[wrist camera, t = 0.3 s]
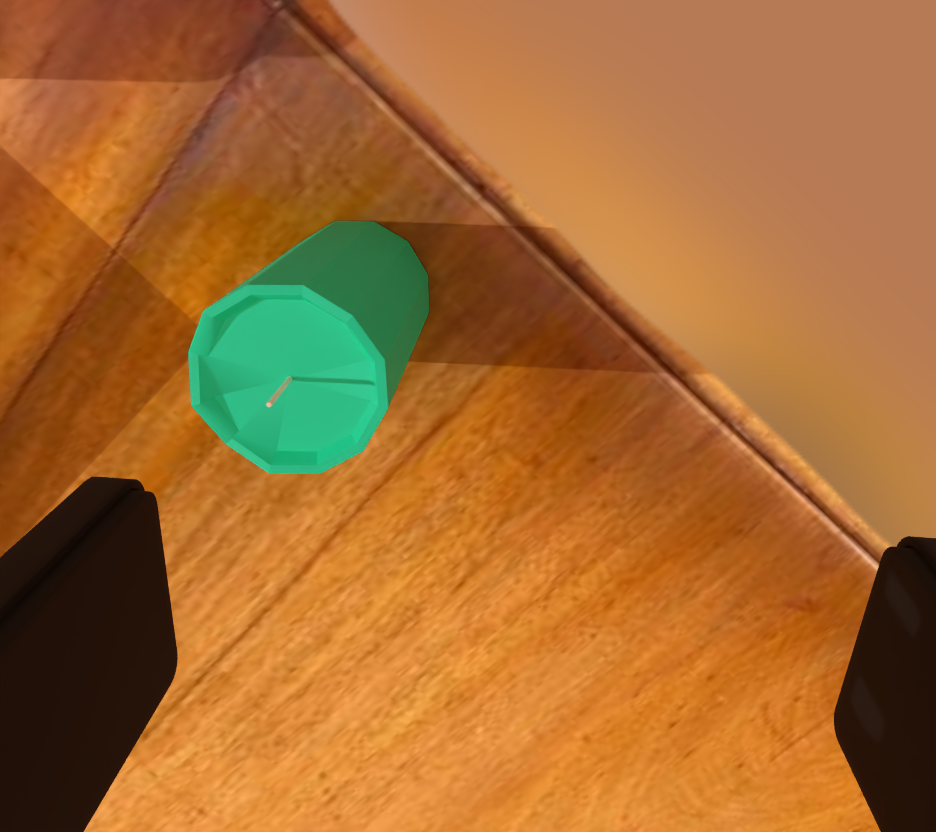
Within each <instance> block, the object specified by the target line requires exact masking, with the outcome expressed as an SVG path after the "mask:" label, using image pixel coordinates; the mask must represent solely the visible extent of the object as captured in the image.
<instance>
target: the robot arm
mask: <svg viewBox="0 0 936 832" xmlns="http://www.w3.org/2000/svg"><path fill="white" fill-rule="evenodd" d="M177 659H178V658H177V647H176V640H175V632H174V625H173V617H172V610H171V602H170V595H169V587H168V580H167V573H166V565H165V558H164V550H163V543H162V535H161V528H160V521H159V513H158V506H157V501H156V497H155V495H154V494H153V493H152V492H148V491H145V490H144V487H143V485H142V484H141V482H139V481H138V480H135V479H121V478H107V477H91V478H89V479H87V480H86V481H85V482H84V483H83V484H81V485H80V486H79V487H78V488H77V489H76V490H75V491H74V492H73V493H71V494H70V495H69V496H68V497H67V498H66V499H65V500H64V501H63V502H61V503H60V504H59V505H58V506H57V507H56V508H55V509H54V510H53V511H51V512H50V513H49V514H48V515H47V516H46V517H45V518H44V519H43V520H41V521H40V522H39V523H38V524H37V525H36V526H35V527H34V528H33V529H31V530H30V531H29V532H28V533H27V534H26V535H25V536H24V537H23V538H21V539H20V540H19V541H18V542H17V543H16V544H15V545H14V546H13V547H11V548H10V549H9V550H8V551H7V552H6V553H5V554H4V555H3V556H1V557H0V832H84V830H85V828H86V827H87V825H88V823H89V822H90V820H91V818H92V817H93V815H94V813H95V811H96V810H97V808H98V806H99V805H100V803H101V801H102V800H103V798H104V796H105V795H106V793H107V791H108V790H109V788H110V786H111V784H112V783H113V781H114V779H115V778H116V776H117V774H118V773H119V771H120V769H121V768H122V766H123V764H124V763H125V761H126V759H127V757H128V756H129V754H130V752H131V751H132V749H133V747H134V746H135V744H136V742H137V741H138V739H139V737H140V736H141V734H142V732H143V730H144V729H145V727H146V725H147V724H148V722H149V720H150V719H151V717H152V715H153V714H154V712H155V710H156V708H157V707H158V705H159V703H160V702H161V700H162V698H163V697H164V695H165V693H166V692H167V690H168V688H169V687H170V685H171V683H172V681H173V678H174V675H175V672H176V667H177ZM834 727H835V733H836V737H837V740H838V742H839V744H840V747H841V749H842V751H843V753H844V755H845V757H846V759H847V761H848V763H849V766H850V768H851V770H852V772H853V774H854V776H855V778H856V780H857V782H858V784H859V787H860V789H861V791H862V793H863V795H864V797H865V799H866V801H867V803H868V806H869V808H870V810H871V812H872V814H873V816H874V818H875V820H876V822H877V825H878V827H879V829H880V831H881V832H936V538H923V537H910V536H908V537H905V538H903V539H902V540H901V541H900V542H899V543H898V545H897V547H889V548H887V549H886V550H885V552H884V553H883V556H882V558H881V561H880V564H879V568H878V571H877V574H876V577H875V581H874V584H873V587H872V590H871V594H870V597H869V600H868V603H867V607H866V610H865V613H864V616H863V620H862V623H861V626H860V630H859V633H858V636H857V639H856V643H855V646H854V649H853V652H852V656H851V659H850V662H849V665H848V669H847V672H846V675H845V678H844V682H843V685H842V688H841V692H840V695H839V698H838V701H837V705H836V708H835V713H834Z"/></svg>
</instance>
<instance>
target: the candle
mask: <svg viewBox="0 0 936 832" xmlns="http://www.w3.org/2000/svg"><path fill="white" fill-rule="evenodd" d="M428 314H429V283H428V274H427V272H426V270H425V269H424V267H423V265H422V264H421V262H420V260H419V259H418V257H417V255H416V254H415V252H414V250H413V249H412V247H411V245H410V244H409V242H408V241H407V240H405V239H403V238H401V237H400V236H398V235H396V234H395V233H393V232H391V231H390V230H388V229H386V228H385V227H383V226H381V225H379V224H378V223H376V222H374V221H334V222H332V223H331V224H329V225H327V226H326V227H324V228H323V229H321V230H319V231H318V232H316V233H314V234H313V235H311V236H309V237H308V238H306V239H304V240H303V241H302V242H300V243H299V244H297V245H296V246H294V247H293V248H292V249H290V250H289V251H287V252H286V253H285V254H283V255H282V256H280V257H279V258H277V259H276V260H275V261H273V262H272V263H270V264H269V265H268V266H266V267H265V268H263V269H262V270H260V271H259V272H258V273H256V274H255V275H253V276H252V277H250V278H249V279H248V280H246V281H245V282H243V283H242V284H241V285H239V286H238V287H236V288H235V289H233V290H232V291H231V292H229V293H228V294H226V295H225V296H224V297H222V298H221V299H219V300H218V301H216V302H215V303H214V304H212V305H211V306H209V307H208V308H207V309H205V310H204V311H203V313H202V316H201V319H200V321H199V324H198V327H197V329H196V332H195V335H194V338H193V340H192V343H191V346H190V348H189V351H188V358H189V375H190V393H191V406H192V407H193V408H194V410H195V411H196V412H197V413H198V414H199V415H200V416H201V417H202V418H203V419H204V421H205V422H206V423H207V424H208V425H209V426H210V427H211V428H212V429H213V431H214V432H215V433H216V434H217V435H218V436H219V437H220V438H221V439H222V440H223V442H224V443H225V444H226V445H228V446H229V447H231V448H232V449H234V450H235V451H237V452H238V453H240V454H241V455H242V456H244V457H245V458H247V459H248V460H250V461H251V462H253V463H254V464H256V465H257V466H259V467H260V468H262V469H263V470H265V471H266V472H268V473H305V474H320V473H322V472H324V471H326V470H328V469H330V468H332V467H334V466H336V465H338V464H340V463H342V462H344V461H345V460H347V459H349V458H351V457H353V456H355V455H357V454H359V453H361V452H363V451H364V449H365V447H366V446H367V444H368V442H369V441H370V439H371V437H372V435H373V434H374V432H375V430H376V428H377V427H378V425H379V423H380V422H381V420H382V418H383V416H384V415H385V413H386V411H387V410H388V408H389V405H390V403H391V400H392V398H393V396H394V393H395V391H396V389H397V386H398V384H399V382H400V379H401V377H402V375H403V372H404V370H405V368H406V365H407V363H408V361H409V358H410V356H411V354H412V351H413V349H414V347H415V344H416V342H417V340H418V337H419V335H420V333H421V330H422V328H423V326H424V323H425V321H426V319H427V316H428Z"/></svg>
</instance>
